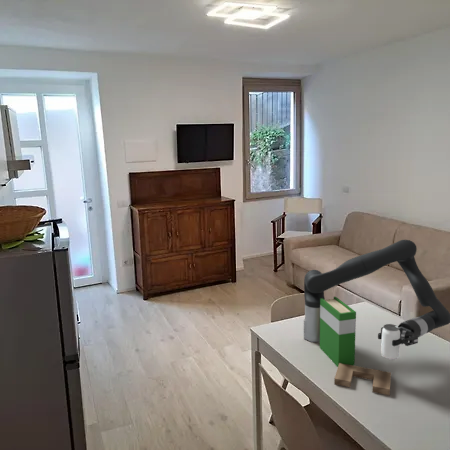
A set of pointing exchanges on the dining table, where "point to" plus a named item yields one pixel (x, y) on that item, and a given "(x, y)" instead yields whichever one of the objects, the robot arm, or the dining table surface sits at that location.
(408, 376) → the dining table surface
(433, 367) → the dining table surface
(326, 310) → the hardback book
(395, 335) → the can
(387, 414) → the dining table surface
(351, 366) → the notched board
